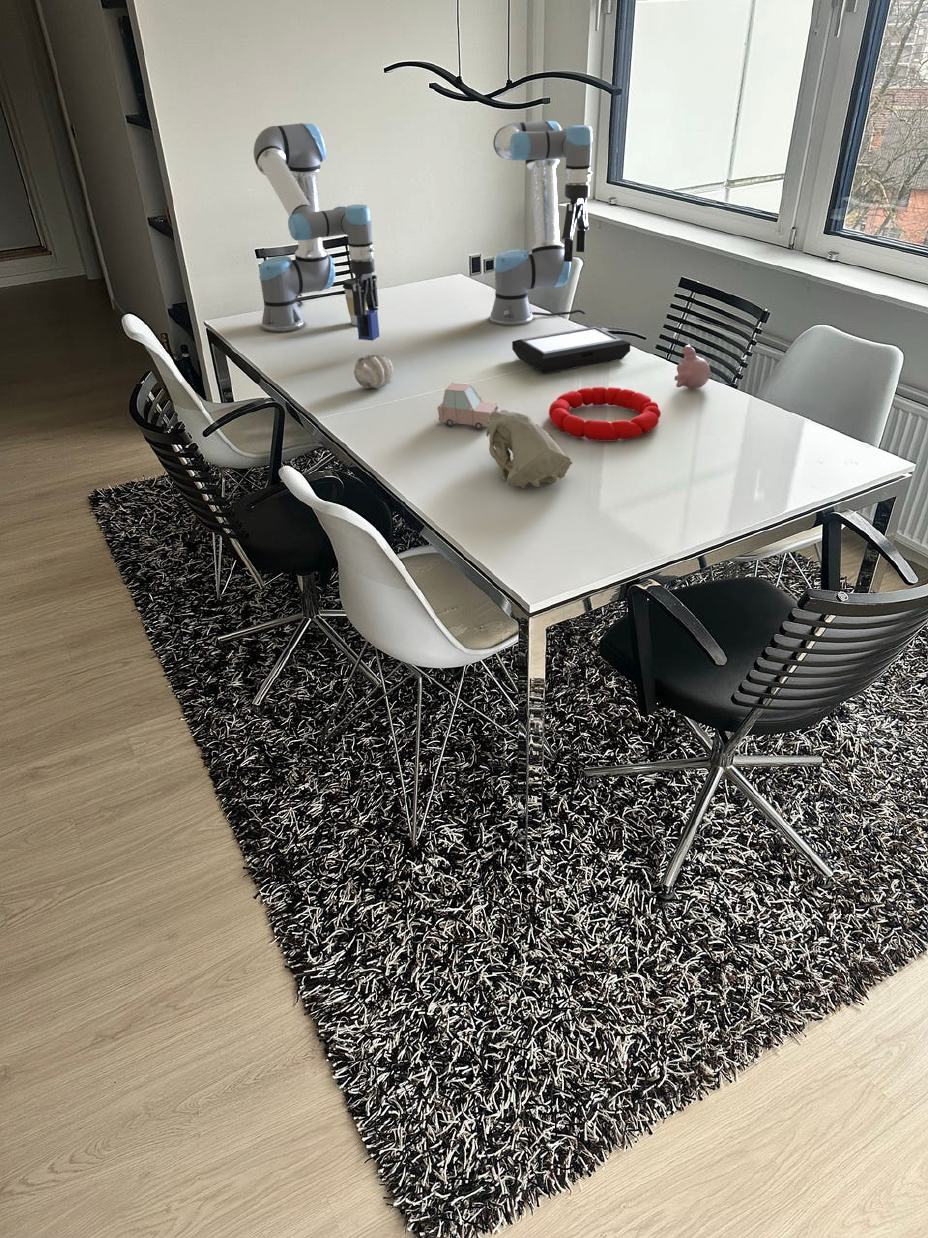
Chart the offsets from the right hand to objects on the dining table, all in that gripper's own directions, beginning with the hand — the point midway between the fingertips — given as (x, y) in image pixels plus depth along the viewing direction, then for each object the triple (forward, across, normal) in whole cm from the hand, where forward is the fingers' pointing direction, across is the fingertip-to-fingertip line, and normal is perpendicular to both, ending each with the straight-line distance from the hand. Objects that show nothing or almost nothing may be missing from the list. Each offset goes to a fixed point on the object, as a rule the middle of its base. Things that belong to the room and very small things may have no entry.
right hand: (574, 256), depth 284 cm
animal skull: (+28, -98, -16) cm, 104 cm away
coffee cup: (+28, +1, +81) cm, 86 cm away
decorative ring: (+28, -62, -28) cm, 74 cm away
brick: (+23, -29, +61) cm, 71 cm away
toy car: (+28, -75, +7) cm, 80 cm away
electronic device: (+28, -15, -4) cm, 32 cm away
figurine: (+28, -30, -45) cm, 61 cm away
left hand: (+21, -29, +61) cm, 71 cm away
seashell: (+28, -57, +45) cm, 78 cm away
